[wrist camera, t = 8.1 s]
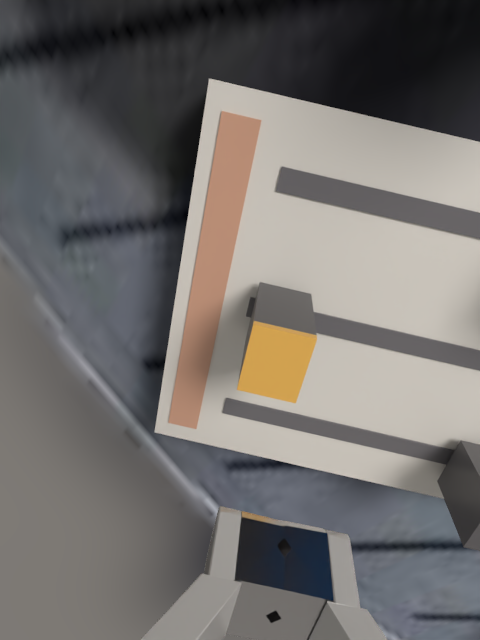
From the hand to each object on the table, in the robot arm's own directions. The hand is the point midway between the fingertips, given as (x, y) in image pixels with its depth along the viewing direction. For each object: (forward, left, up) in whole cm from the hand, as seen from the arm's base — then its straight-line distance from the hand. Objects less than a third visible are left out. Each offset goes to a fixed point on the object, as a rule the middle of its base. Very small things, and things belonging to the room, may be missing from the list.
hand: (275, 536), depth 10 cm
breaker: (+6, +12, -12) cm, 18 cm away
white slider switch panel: (0, +7, -15) cm, 17 cm away
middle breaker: (0, 0, -12) cm, 12 cm away
